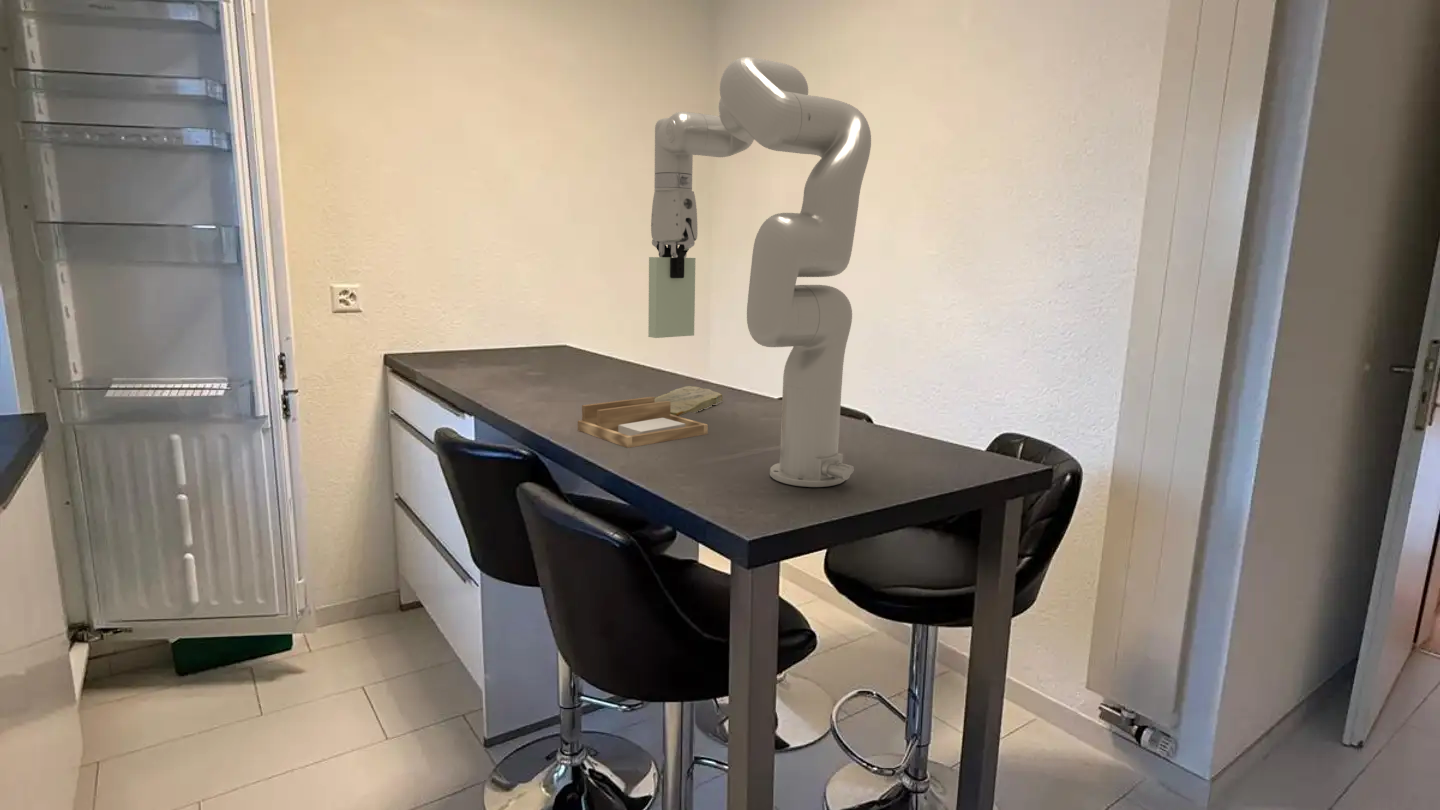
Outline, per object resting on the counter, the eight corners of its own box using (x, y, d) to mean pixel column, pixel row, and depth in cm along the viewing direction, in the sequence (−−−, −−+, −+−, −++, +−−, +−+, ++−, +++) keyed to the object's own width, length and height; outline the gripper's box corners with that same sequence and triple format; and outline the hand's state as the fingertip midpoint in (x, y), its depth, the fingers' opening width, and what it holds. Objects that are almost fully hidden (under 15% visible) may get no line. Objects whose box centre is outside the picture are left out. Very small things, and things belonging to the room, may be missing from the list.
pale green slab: (694, 335, 166) (695, 257, 163) (655, 338, 159) (656, 257, 156) (686, 334, 168) (687, 257, 165) (648, 336, 161) (648, 257, 158)
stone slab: (730, 388, 198) (681, 404, 171) (729, 404, 199) (681, 423, 171) (685, 383, 203) (630, 398, 175) (684, 399, 203) (630, 417, 176)
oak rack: (707, 439, 156) (708, 409, 155) (627, 453, 144) (627, 421, 143) (655, 423, 169) (655, 396, 168) (577, 435, 156) (577, 405, 155)
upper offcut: (685, 433, 155) (685, 423, 155) (640, 442, 148) (640, 431, 147) (662, 427, 160) (662, 417, 160) (618, 435, 153) (618, 425, 152)
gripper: (713, 183, 154) (711, 279, 158) (663, 187, 166) (663, 276, 170) (683, 180, 149) (682, 279, 153) (634, 184, 161) (634, 276, 165)
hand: (672, 276), depth 161 cm, fingers closed on pale green slab, 2 cm apart
